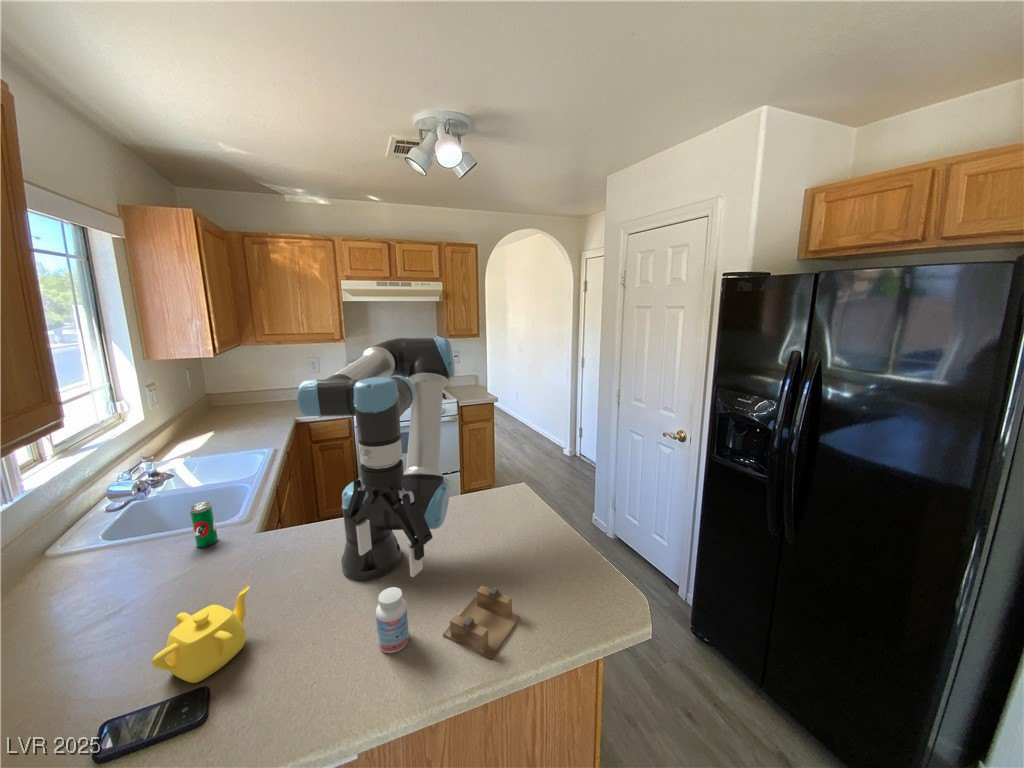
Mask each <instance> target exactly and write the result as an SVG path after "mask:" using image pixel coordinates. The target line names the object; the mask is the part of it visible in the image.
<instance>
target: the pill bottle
mask: <svg viewBox="0 0 1024 768" xmlns="http://www.w3.org/2000/svg"><path fill="white" fill-rule="evenodd" d="M402 591H403V590H402V589H401V588H399V587H394V586H392V587H388V588H385V589H383V590H382V591H381V592H380V593H379V595H378V604H377V606H376V610H375V618H376V619H375V620H376V628H377V629H376V631H377V642H378V643H377V644H378V647H379V649H380V650H381V651H382V652H383V653H386V654H394V653H397V652H399V651H401V650H402V649H405V647H406V645H407V644H408V642H409V621H408V605H407V601H405V599H404V598H403V597H404V596H403V592H402Z"/></svg>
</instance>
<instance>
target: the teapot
mask: <svg viewBox="0 0 1024 768" xmlns="http://www.w3.org/2000/svg"><path fill="white" fill-rule="evenodd" d="M249 589H251V586H250V585H248V586H245V587H244V588H243V589H241V591H239V593H238V596H237V597H236V601H235V606H234V610H233V611H232V610H231V609H229V608H226V607H225V606H222V605H220V604H211V605H209V606H206V607H204V608H202V609H200V610H199V611H197V612H196V613H194V614H192V615H191V614H189V613H187V612H186V611H185V612H180V613H179V614H177V615H176V617H175V620H176V623H177V626H175V627H174V628H173V629H172V630H171V631H170V632H169V634H168V638H167V641H166V646H165V648H164V649H162V650H161V651H159V652H158V653H156V654H155V656H154V657H153V658H152V660H151V664H152V666H153V667H154V668H156V669H159V670H164V671H169V672H170V673H172V675H174V676H175V677H177V678H179V679H181V680H183V681H185V682H187V683H190V684H197V683H199V682H201V681H203V680H205V679H207V678H208V677H209V676H211V675H213V674H214V673H216V672H217V671H218V670H220V669H222V668H223V667H224V666H225V665H226V664H228V663H229V662H230V661H231V660H232V659H233V658H234V657H235V656H236V655H237V654H238V653H239V652H241V649H242V648H244V645H245V642H246V639H247V632H246V629H245V627H244V620H245V619H246V603H245V602H246V601H245V600H246V599H245V598H246V595H247V593H248V591H249Z"/></svg>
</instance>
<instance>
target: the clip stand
mask: <svg viewBox="0 0 1024 768" xmlns="http://www.w3.org/2000/svg"><path fill="white" fill-rule="evenodd" d="M520 619H521V616H520V615H519V614H516V613H514V612H513V597H511V596H510V595H506V594H504V593H502V592H500V590H499V588H498V587H496V586H494V587H492V589H491V588H489V587H486V586H484V585H480V587H479V588H478V589H477V590H476V596H475V597H474V598H473V599H472V600H471V601H470V602H469V603H468V604H467V606H466V607H465V608H464V609H463V610H462V611H461V612H460V614H459V615H458V614H454V616H453V617H452V618H451V619H450V621H449V626H448V627H447V628H446V629H445V630H444V631H443V632H442V637H444V638H445V639H448V640H450V641H452V642H454V643H456V644H457V645H459V646H461V647H464V648H466V649H468V650H470V651H472V652H474V653H476V654H477V655H480V656H481V657H484V658H486V659H488V660H490V661H492V660H493V659H494V657H495V656H496V654H497V653H498V651H499V650H500V649H501V647H502V646H503V644H504V643H505V642H506V640H507V638H508V637H509V636H510V634H511V632H512V631H513V629H514V628H515V626H517V623H519V621H520Z"/></svg>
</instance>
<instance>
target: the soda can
mask: <svg viewBox="0 0 1024 768" xmlns="http://www.w3.org/2000/svg"><path fill="white" fill-rule="evenodd" d="M189 514H190V519H191V526H192V529H193V530H192V531H193V534H194V540H195V544H196V545H195V546H196V547H199V548H207V547H210V546H212V545H213V544H215V543H217V541H218V539H219V537H218V532H217V527H216V521H215V516H214V515H215V514H214V511H213V505H212V504H211V503H210V502H209V501H204V502H203V501H202V502H199V503H196V504H193V505H191V508H190V511H189Z"/></svg>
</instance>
